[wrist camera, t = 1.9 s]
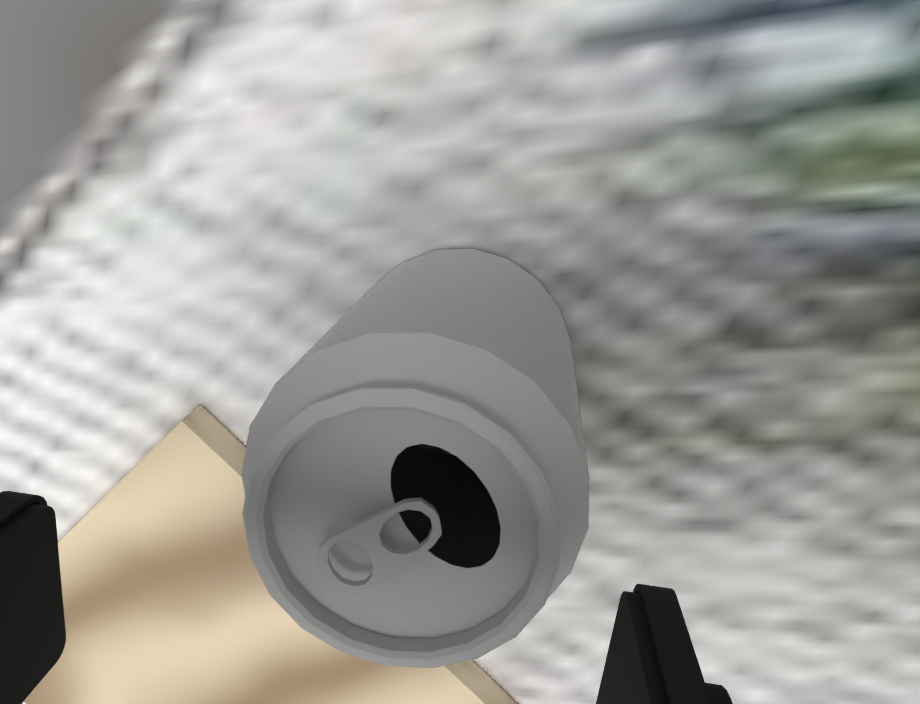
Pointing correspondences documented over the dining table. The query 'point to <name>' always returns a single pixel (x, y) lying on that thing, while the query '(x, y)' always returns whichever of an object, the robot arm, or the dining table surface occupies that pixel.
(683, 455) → the dining table surface
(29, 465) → the dining table surface
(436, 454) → the can
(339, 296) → the dining table surface
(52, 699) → the oak board
